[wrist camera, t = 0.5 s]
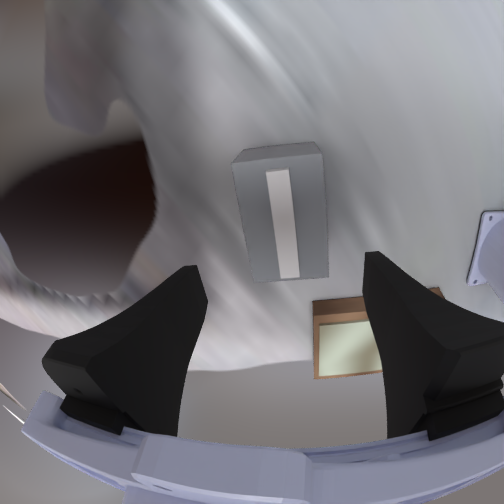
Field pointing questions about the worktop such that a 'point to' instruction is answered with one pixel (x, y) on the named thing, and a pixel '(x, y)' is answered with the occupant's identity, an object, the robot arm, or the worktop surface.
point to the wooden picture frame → (345, 339)
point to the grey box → (283, 211)
